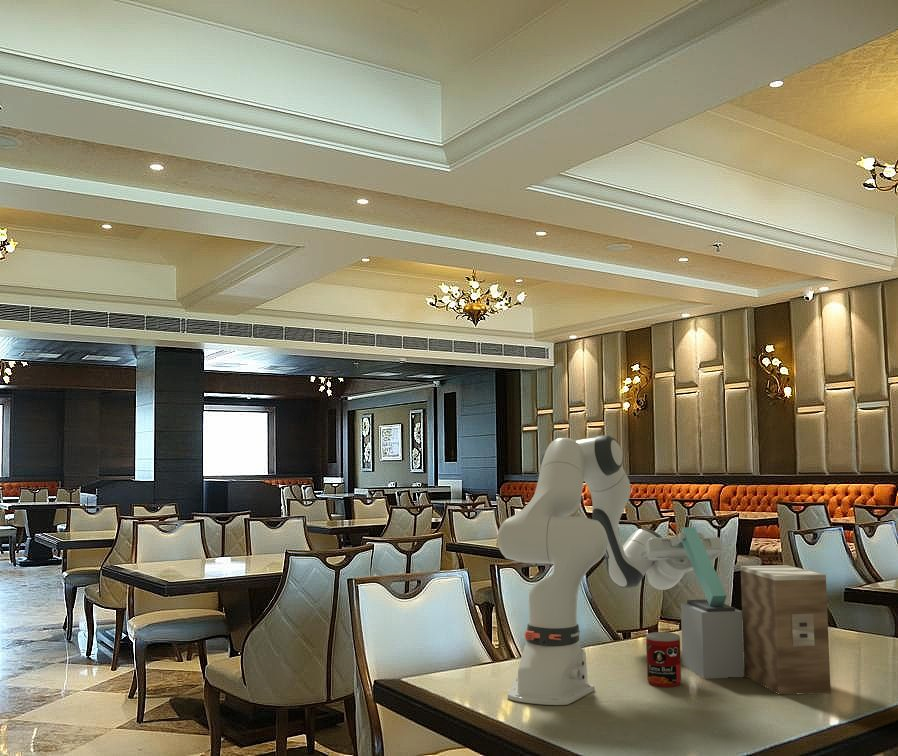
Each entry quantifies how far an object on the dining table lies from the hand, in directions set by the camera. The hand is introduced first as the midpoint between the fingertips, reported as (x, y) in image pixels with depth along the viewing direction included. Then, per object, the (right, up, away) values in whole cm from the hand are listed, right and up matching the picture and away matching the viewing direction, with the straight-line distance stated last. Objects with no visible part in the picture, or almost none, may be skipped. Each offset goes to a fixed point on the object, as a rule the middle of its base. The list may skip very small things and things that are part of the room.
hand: (692, 535), depth 233 cm
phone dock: (+1, -31, -14) cm, 34 cm away
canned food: (-13, -30, -25) cm, 42 cm away
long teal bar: (+1, -8, -6) cm, 10 cm away
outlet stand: (+15, -30, -26) cm, 42 cm away
